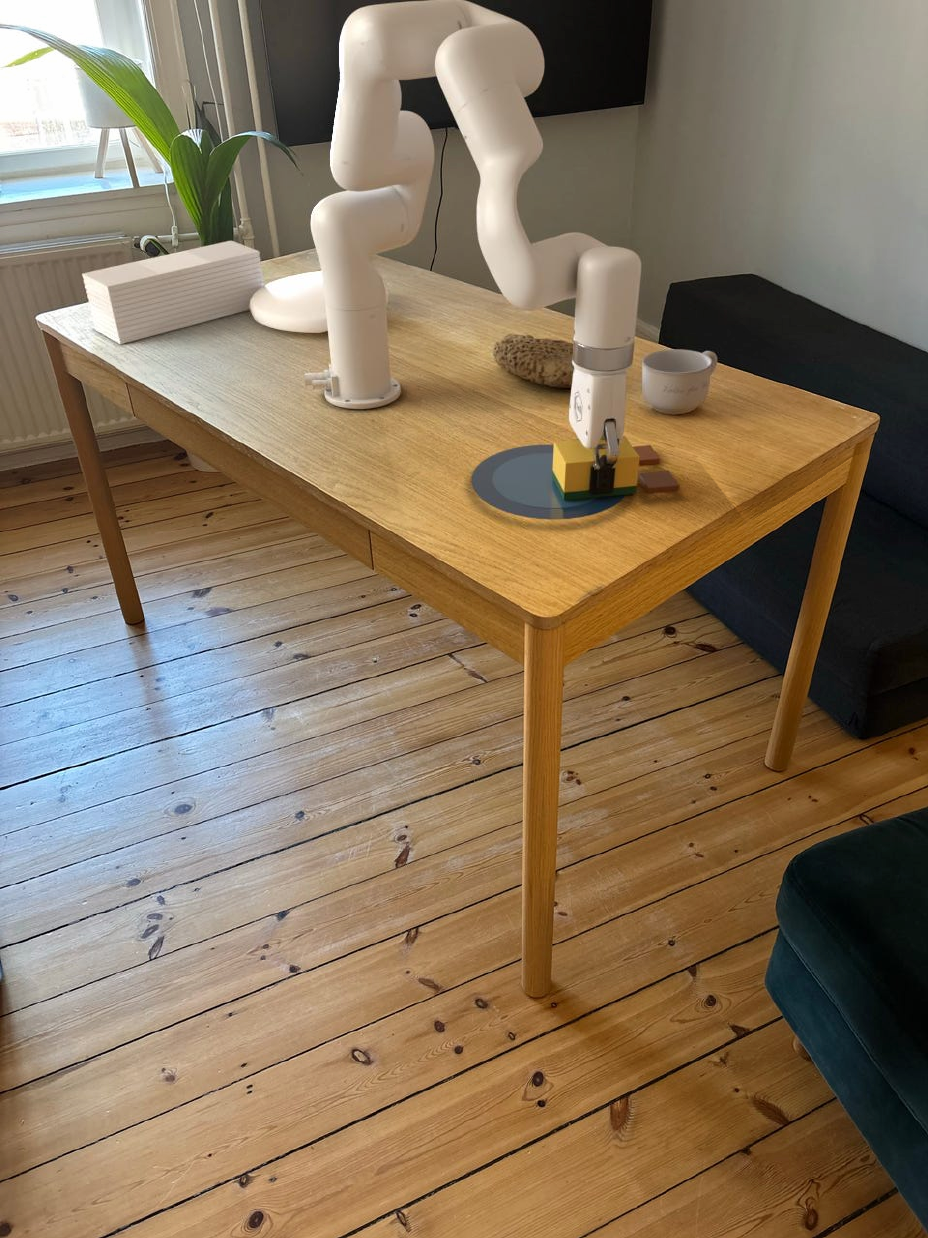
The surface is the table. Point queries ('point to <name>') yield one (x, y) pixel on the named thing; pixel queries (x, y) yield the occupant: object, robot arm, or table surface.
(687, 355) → the teacup
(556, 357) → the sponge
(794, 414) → the table surface
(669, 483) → the block
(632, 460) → the scrub sponge
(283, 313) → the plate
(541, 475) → the side plate
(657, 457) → the block
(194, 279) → the white long rectangular block
